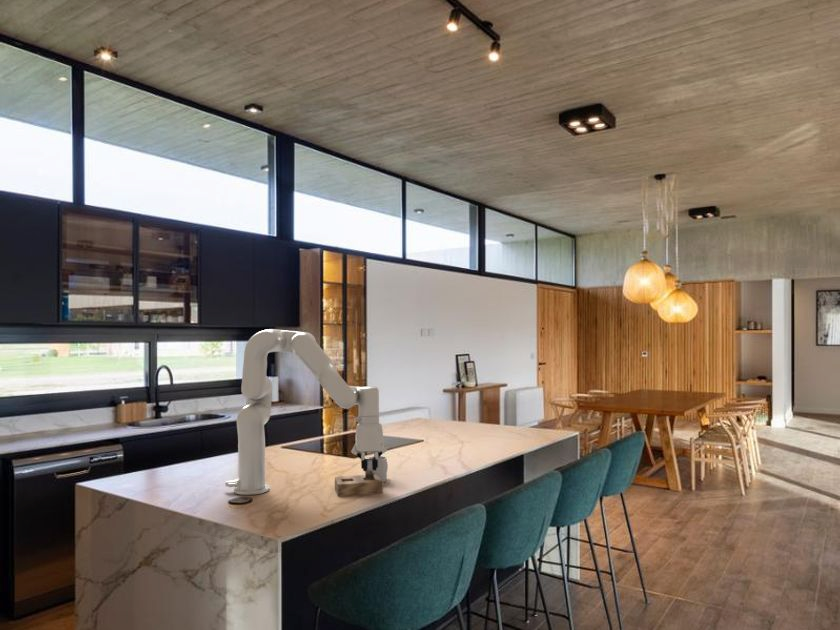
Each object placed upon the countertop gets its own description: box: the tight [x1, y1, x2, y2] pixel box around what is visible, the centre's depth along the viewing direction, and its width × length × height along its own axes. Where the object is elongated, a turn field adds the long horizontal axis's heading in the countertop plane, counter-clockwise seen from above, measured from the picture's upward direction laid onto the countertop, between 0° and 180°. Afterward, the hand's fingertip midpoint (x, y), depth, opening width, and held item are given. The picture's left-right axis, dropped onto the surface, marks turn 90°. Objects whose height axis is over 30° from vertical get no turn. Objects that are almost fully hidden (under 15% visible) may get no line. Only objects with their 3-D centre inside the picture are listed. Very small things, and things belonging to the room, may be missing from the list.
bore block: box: [334, 474, 384, 497], centre depth 225 cm, size 16×12×4 cm
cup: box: [371, 455, 388, 483], centre depth 240 cm, size 7×10×9 cm
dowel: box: [364, 456, 374, 478], centre depth 226 cm, size 3×3×7 cm
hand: (369, 469), depth 226 cm, fingers closed on dowel, 3 cm apart
